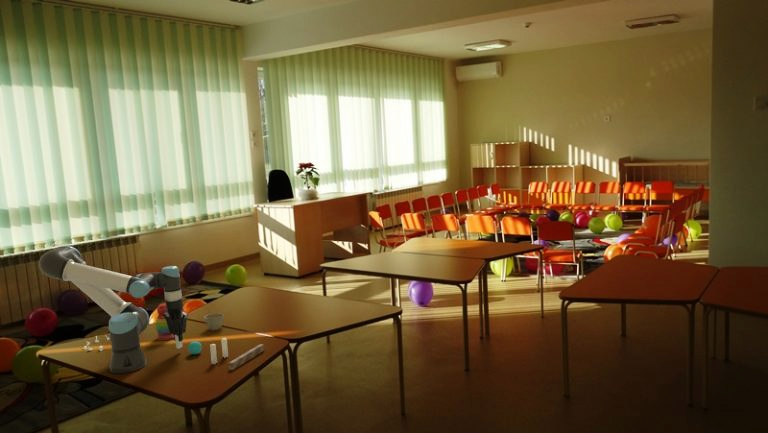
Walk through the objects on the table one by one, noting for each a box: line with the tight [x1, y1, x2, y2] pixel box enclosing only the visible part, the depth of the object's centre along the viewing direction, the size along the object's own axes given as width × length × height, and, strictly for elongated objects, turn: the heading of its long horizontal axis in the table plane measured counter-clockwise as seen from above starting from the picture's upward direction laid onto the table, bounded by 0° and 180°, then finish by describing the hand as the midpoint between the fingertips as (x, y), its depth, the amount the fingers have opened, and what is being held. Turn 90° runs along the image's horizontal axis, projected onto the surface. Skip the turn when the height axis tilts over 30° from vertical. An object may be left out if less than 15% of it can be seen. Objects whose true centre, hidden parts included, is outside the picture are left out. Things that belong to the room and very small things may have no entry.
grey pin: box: [209, 343, 218, 365], centre depth 258 cm, size 2×2×8 cm
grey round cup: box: [204, 312, 225, 331], centre depth 310 cm, size 10×10×7 cm
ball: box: [187, 340, 203, 355], centre depth 272 cm, size 6×6×6 cm
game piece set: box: [82, 334, 110, 352], centre depth 295 cm, size 19×20×4 cm
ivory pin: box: [220, 337, 229, 359], centre depth 265 cm, size 2×2×8 cm
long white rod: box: [227, 343, 265, 371], centre depth 260 cm, size 24×2×3 cm, turn 158°
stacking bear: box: [155, 302, 174, 341], centre depth 300 cm, size 11×10×18 cm
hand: (179, 347), depth 276 cm, fingers closed
